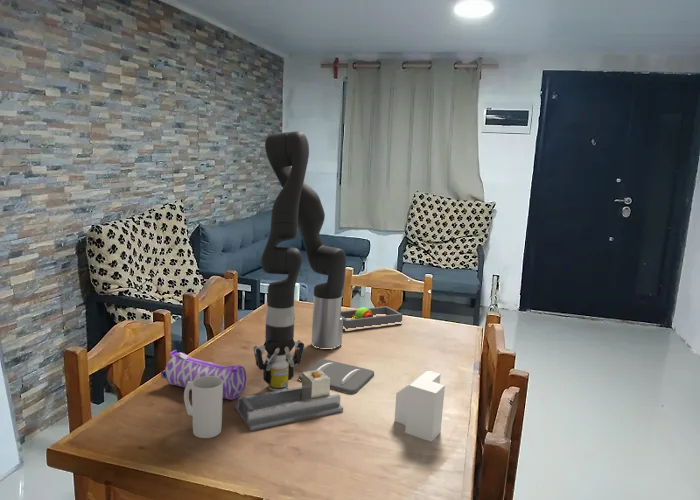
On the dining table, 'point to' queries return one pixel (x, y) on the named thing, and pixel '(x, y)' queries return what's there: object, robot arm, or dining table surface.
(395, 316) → the gray rectangular tray
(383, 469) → the dining table surface
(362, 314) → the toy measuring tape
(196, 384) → the mug
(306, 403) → the rail tray
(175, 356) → the pencil case
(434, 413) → the white notched block
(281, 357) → the supplement bottle
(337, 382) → the grey flat block
